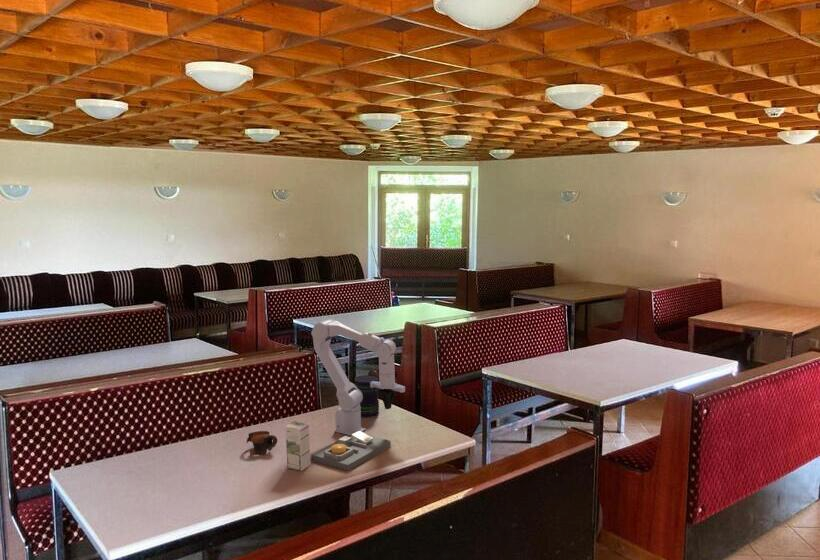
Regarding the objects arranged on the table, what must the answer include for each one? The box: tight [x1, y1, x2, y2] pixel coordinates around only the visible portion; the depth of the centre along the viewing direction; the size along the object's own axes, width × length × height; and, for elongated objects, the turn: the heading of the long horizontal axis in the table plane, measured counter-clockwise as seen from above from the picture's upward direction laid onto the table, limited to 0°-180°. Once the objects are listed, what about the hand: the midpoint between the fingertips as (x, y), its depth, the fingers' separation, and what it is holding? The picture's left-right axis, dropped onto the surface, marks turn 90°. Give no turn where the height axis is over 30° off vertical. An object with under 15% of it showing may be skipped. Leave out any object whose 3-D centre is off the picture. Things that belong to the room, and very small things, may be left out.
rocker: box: [351, 431, 373, 444], centre depth 215 cm, size 6×4×1 cm
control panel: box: [310, 432, 392, 471], centre depth 210 cm, size 16×24×3 cm, turn 147°
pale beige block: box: [337, 435, 352, 447], centre depth 212 cm, size 3×4×2 cm
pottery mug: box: [246, 430, 278, 456], centre depth 213 cm, size 12×10×8 cm
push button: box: [331, 444, 346, 455], centre depth 204 cm, size 5×5×2 cm
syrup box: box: [285, 421, 311, 472], centre depth 199 cm, size 6×6×14 cm
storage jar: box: [354, 374, 380, 418], centre depth 249 cm, size 10×10×15 cm
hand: (388, 408), depth 225 cm, fingers closed
